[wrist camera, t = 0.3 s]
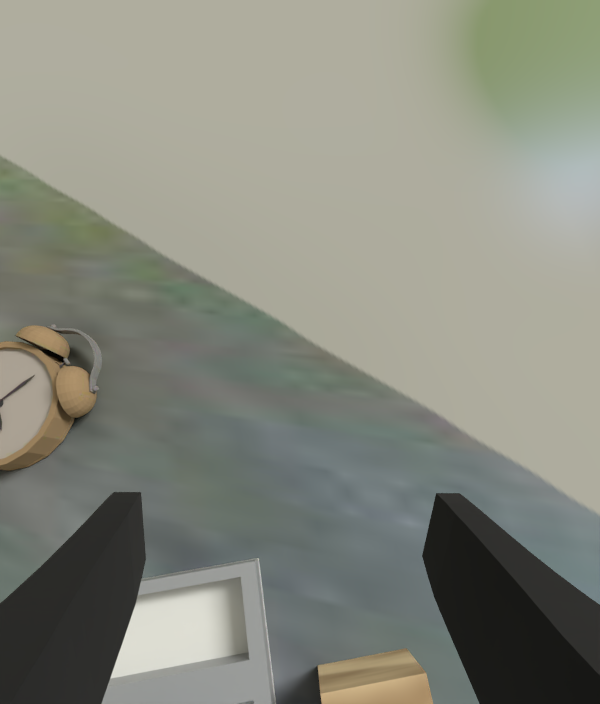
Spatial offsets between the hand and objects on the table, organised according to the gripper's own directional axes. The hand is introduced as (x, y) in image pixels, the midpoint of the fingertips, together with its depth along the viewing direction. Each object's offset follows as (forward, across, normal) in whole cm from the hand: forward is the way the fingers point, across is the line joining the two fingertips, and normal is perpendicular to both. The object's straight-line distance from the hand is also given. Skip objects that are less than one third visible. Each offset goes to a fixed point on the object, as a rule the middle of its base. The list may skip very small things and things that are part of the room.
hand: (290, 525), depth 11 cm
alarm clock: (+31, +21, +13) cm, 40 cm away
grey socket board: (+14, +6, +28) cm, 32 cm away
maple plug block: (+13, -8, +27) cm, 31 cm away
